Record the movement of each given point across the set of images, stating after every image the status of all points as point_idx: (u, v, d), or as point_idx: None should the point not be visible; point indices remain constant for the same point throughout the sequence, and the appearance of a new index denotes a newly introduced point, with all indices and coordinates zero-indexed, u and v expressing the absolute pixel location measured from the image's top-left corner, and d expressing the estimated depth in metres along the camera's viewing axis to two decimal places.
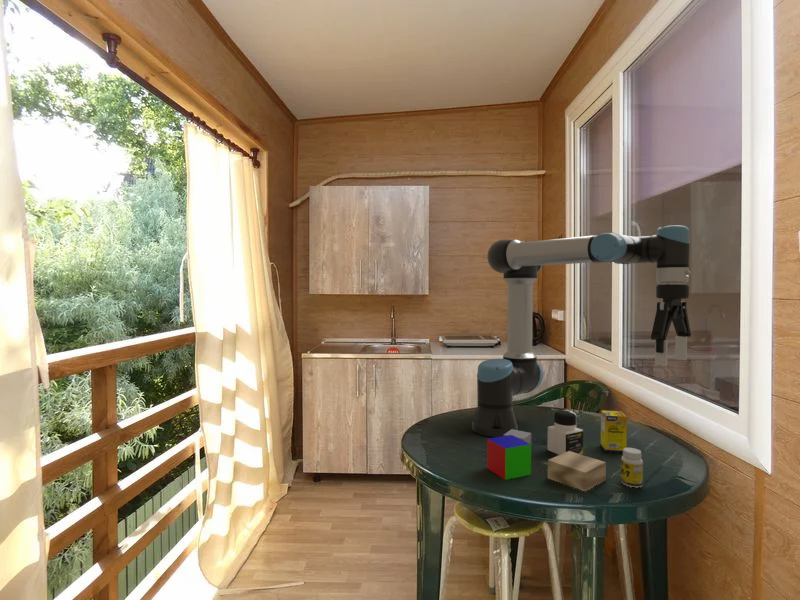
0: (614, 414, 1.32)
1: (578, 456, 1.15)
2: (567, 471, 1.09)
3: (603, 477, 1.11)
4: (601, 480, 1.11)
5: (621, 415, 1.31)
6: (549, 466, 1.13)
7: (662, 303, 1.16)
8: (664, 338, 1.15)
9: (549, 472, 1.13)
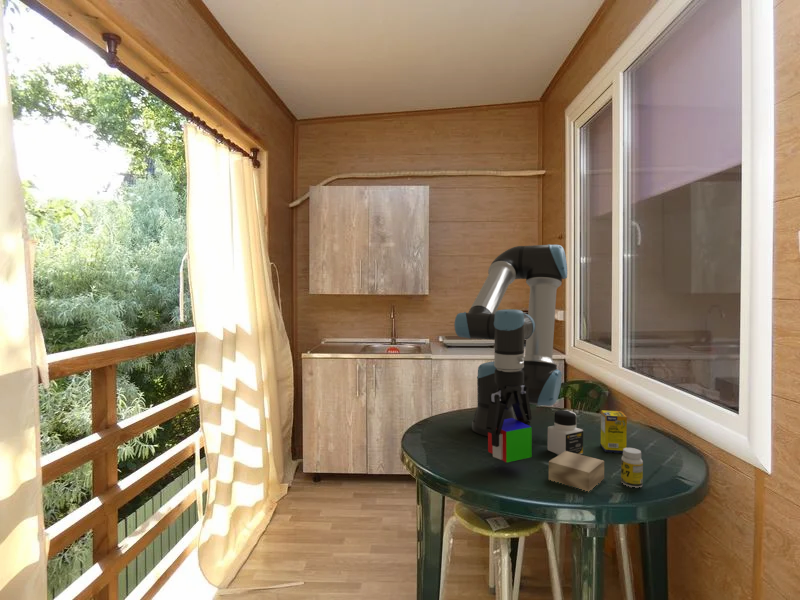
0: (614, 414, 1.32)
1: (576, 456, 1.16)
2: (570, 472, 1.09)
3: (602, 476, 1.12)
4: (601, 479, 1.11)
5: (621, 415, 1.31)
6: (550, 467, 1.12)
7: (493, 395, 1.13)
8: (498, 433, 1.13)
9: (550, 473, 1.12)
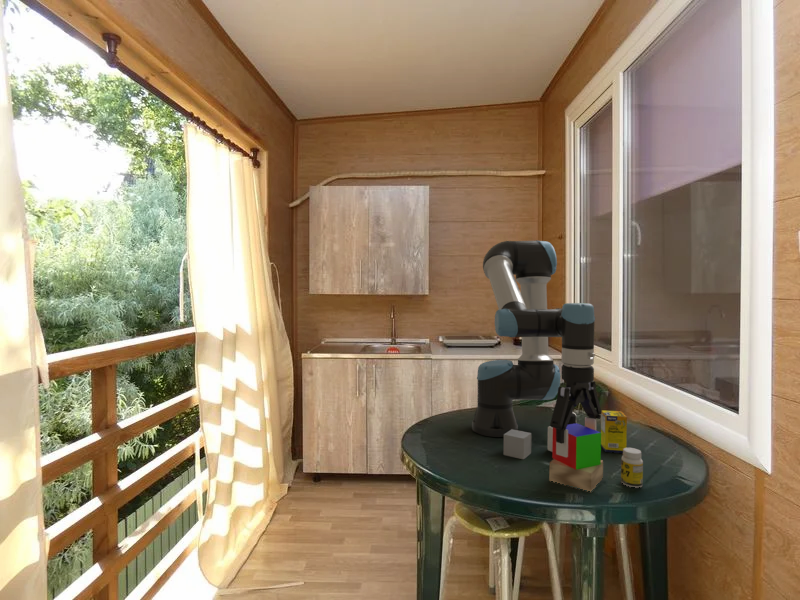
0: (614, 414, 1.32)
1: None
2: (572, 473, 1.08)
3: (601, 476, 1.13)
4: (600, 478, 1.12)
5: (621, 415, 1.31)
6: (551, 469, 1.11)
7: (563, 389, 1.08)
8: (564, 428, 1.06)
9: (551, 475, 1.11)
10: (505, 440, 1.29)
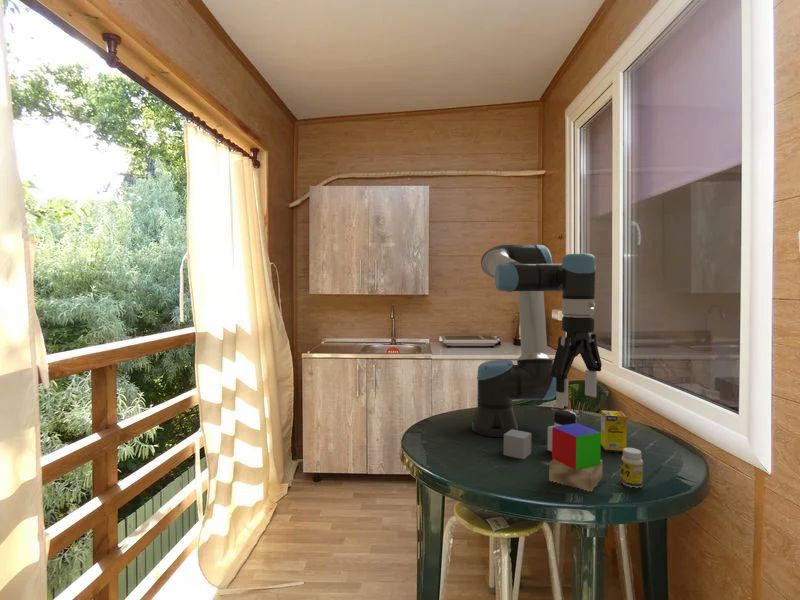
0: (614, 414, 1.32)
1: None
2: (571, 473, 1.08)
3: (601, 475, 1.13)
4: (600, 478, 1.12)
5: (621, 415, 1.31)
6: (551, 468, 1.12)
7: (563, 338, 1.07)
8: (564, 377, 1.06)
9: (551, 474, 1.12)
10: (505, 440, 1.29)
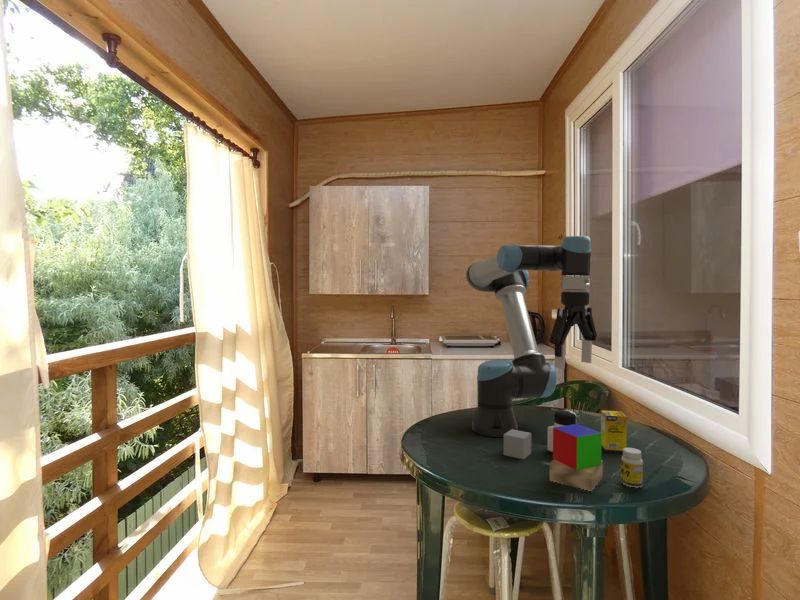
0: (614, 414, 1.32)
1: None
2: (572, 473, 1.08)
3: (601, 475, 1.13)
4: (600, 478, 1.12)
5: (621, 415, 1.31)
6: (551, 469, 1.11)
7: (561, 310, 1.23)
8: (561, 343, 1.22)
9: (551, 475, 1.12)
10: (505, 440, 1.29)
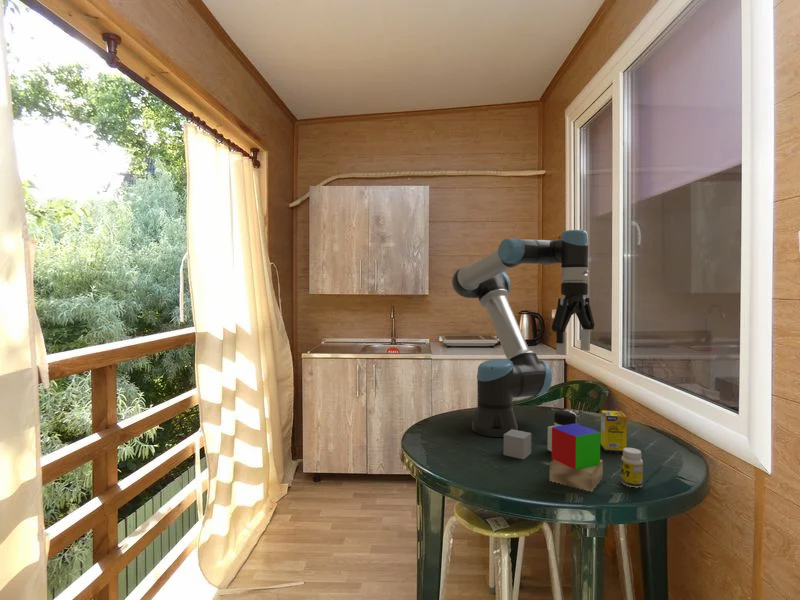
0: (614, 414, 1.32)
1: None
2: (572, 473, 1.08)
3: (601, 475, 1.13)
4: (600, 478, 1.12)
5: (621, 415, 1.31)
6: (551, 469, 1.11)
7: (562, 299, 1.30)
8: (562, 330, 1.29)
9: (551, 475, 1.11)
10: (505, 440, 1.29)
